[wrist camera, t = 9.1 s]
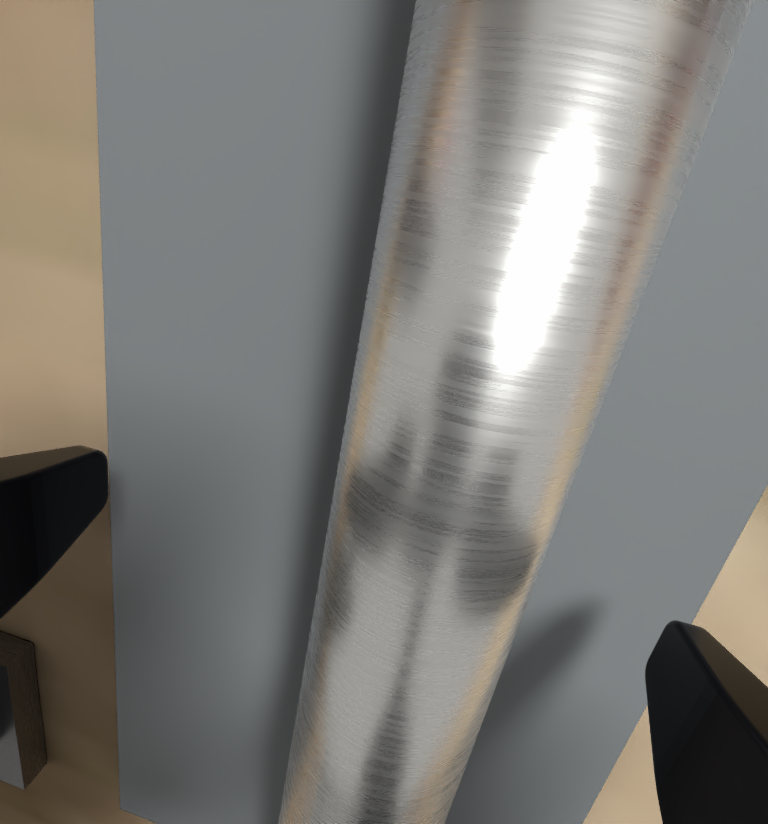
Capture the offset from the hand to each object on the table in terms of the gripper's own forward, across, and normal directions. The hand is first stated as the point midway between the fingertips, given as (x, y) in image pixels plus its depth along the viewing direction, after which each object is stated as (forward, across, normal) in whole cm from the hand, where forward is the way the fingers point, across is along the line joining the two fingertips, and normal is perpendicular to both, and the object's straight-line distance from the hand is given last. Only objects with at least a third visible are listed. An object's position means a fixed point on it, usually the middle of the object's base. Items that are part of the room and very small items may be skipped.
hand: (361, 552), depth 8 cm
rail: (0, -1, 0) cm, 1 cm away
